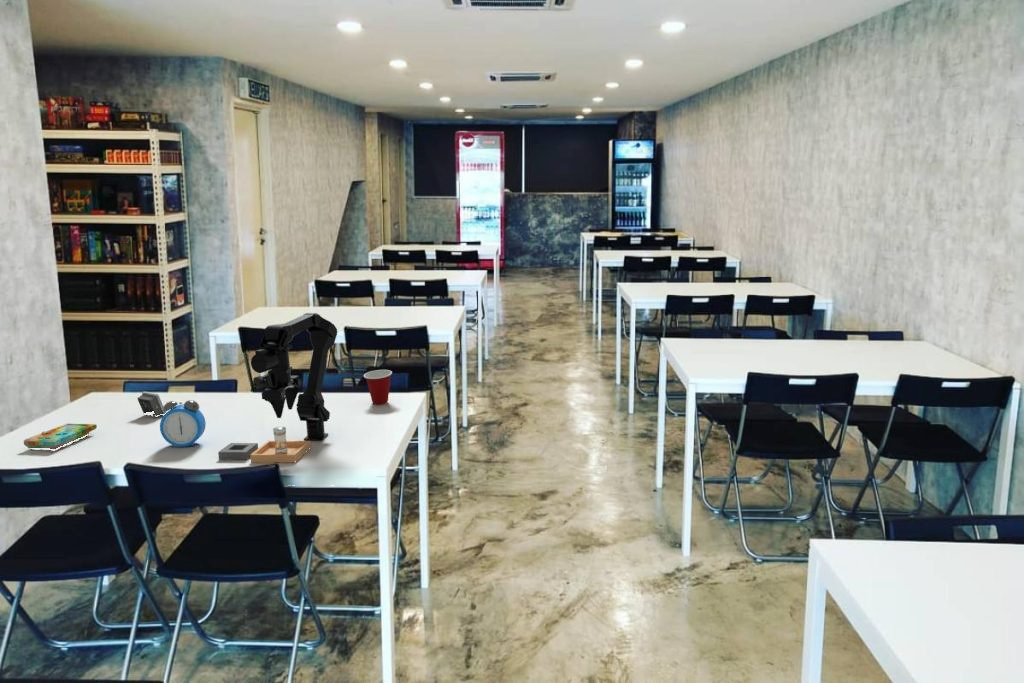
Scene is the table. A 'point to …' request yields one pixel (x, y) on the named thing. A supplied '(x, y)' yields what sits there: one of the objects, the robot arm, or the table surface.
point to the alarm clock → (182, 423)
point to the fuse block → (237, 451)
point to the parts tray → (268, 454)
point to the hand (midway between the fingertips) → (284, 413)
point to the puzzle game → (59, 436)
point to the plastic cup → (378, 385)
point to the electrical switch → (151, 403)
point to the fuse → (280, 440)
